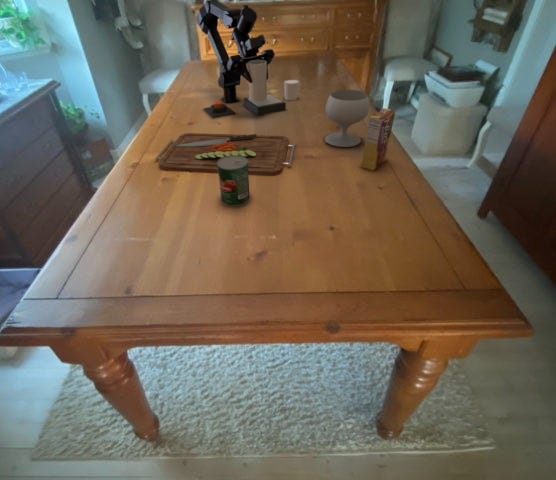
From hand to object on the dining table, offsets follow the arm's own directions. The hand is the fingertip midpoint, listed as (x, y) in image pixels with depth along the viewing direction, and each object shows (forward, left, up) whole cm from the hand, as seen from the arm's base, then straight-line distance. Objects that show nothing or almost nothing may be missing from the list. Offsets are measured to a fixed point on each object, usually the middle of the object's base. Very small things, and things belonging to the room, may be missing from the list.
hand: (259, 80), depth 133 cm
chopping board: (+26, -25, -14) cm, 39 cm away
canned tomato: (+54, -33, -14) cm, 65 cm away
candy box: (+55, +13, -14) cm, 58 cm away
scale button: (-14, -13, -11) cm, 22 cm away
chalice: (+36, +15, -14) cm, 41 cm away
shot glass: (-14, +22, -14) cm, 29 cm away
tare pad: (-14, -13, -13) cm, 23 cm away
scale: (-9, +6, -13) cm, 17 cm away
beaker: (-1, 0, -7) cm, 7 cm away
